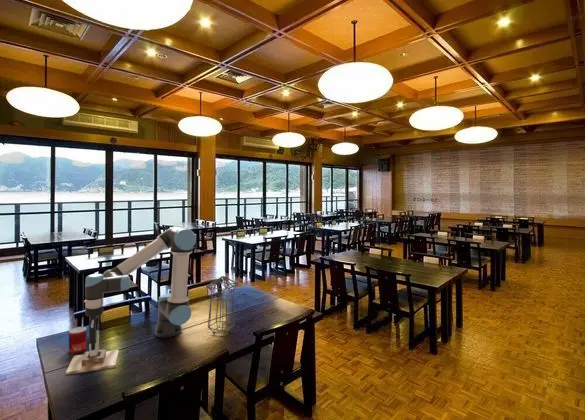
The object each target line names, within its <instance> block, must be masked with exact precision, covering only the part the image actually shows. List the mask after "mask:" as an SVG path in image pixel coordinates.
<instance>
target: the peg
mask: <svg viewBox="0 0 585 420" xmlns="http://www.w3.org/2000/svg"><path fill="white" fill-rule="evenodd" d="M99 335H100V330H99V331H98V330H97V334H96V342H97V356H90V344H88V345H89V347H88V348H89V358H91V357H98V356H99V350H100V337H99Z"/></svg>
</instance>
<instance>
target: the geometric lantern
mask: <svg viewBox="0 0 585 420" xmlns="http://www.w3.org/2000/svg"><path fill="white" fill-rule="evenodd" d="M217 285H218V286H217ZM220 285H222V286H223V287H224V288H220ZM238 286H239V282H236V281H234V280H233V279H230V278H229V277H227V276H225V275H221V276H220V277H218V278H217V279H215V280H212V282H209V284H207V285H205V287H206V288H207V289H209V290H210V302H209V309H208V310H209V311H208V318H207V319H208V321H207V328H208V329H210V331H211V332H212V334H214V335H215V333H219V334H222V336H223V335H224V336H225V335H227V334H226V333H227V332H229V330H230V331H231V329H232V328H233V327H234V326H235V325H236V323H235V321H236V320H235V318H236V317H235V304H234V303H235V302H234V298H235V289H236V288H237V287H238ZM227 290H228V292H229V293H228V294H227V295H226V294H224V292H225V291H227ZM214 294H216V295H215V296H214ZM222 296H225V297H226V298H225V299H223V297H222ZM229 296H230V297H231V298H229V299H228V297H229ZM216 297H217V299H215V301H217V302H216V303H217V305H216V312H215V313H216V316H215V322H213V323H212V324H211V317H212V301H214V298H216ZM227 299H228V300H227ZM231 300H232V302H231V303H232V305H231V306H232V307H231V309H232V310H231V311H232V314H231V317H232V322H230V321H229V322H228V305H227V304H228V303H227V302H228V301H231ZM221 301H222V302H221ZM219 302H220V303H219ZM224 302H225V305H224ZM219 304H220V307H219ZM224 306H225V307H224ZM218 308H219V309H220V310H219V320H217V319H218ZM224 308H225V319H226V320H225V321H224V312H222V309H224ZM221 316H222V317H221ZM215 324H216V328H212V326H213V325H215ZM218 324H219V326H218ZM221 324H222V325H221ZM224 324H225V325H226V327H225V326H224ZM228 324H231V325H230V326H229V327H228ZM219 328H220V330H219ZM221 328H222V329H221ZM217 330H218V331H217ZM226 330H227V331H226ZM216 331H217V332H216Z"/></svg>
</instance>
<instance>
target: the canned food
mask: <svg viewBox="0 0 585 420" xmlns="http://www.w3.org/2000/svg"><path fill="white" fill-rule="evenodd" d="M87 337H88V330H87V327H86V326H77V327H74V328H73V327H72V328H70V330H69V331H68V352H69V353H70V354H78V353H82V352H85V350H87V347H88V346H87V345H88V341H87V339H88V338H87Z"/></svg>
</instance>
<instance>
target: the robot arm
mask: <svg viewBox="0 0 585 420" xmlns="http://www.w3.org/2000/svg"><path fill="white" fill-rule="evenodd" d="M196 244H197V237H196V233H195V232H194V231H193V230H191V229H190V228H188V227H182V226H178V225H174V226H171V227H170V228H168V229H166V230H164V231H163V232H162V233H160V234H159V235H158V236H156V239H154V240H153V241H152V242H150V243H149V244H148V245H146V246H145V247H143V248H141V249H140V250H138V251H137V252H136V253H134V254H132V255H131V256H130V257H128V258H127V259H125V260H124V261H123V262H120V263H119V264H117V265H116V266H115V267H113V268H111V269H107V270H105V271H104V272H103V273H92V274H89V275H87V276H86V277H85V283H84V290H85V291H84V296H85V297H84V298H85V300H83V303H85V304H84V305H85V308H84V314H85V315H84V316H85V317H87V318H88V317H89V319H88V324H89V325H88V329H89V331H88V333H89V336H88V337H89V338H88V339H89V341H87V345H89V344H90V356H97V342H96V334H97V330H98V331H99V332H100V318H101V317H100V316H102V315H103V314H104V294H108V293H114V292H123V291H127V290H129V289H130V288H131V278H130V276H129V275H130V274H132V273H133V272H135V271H136V270H137V269H139V268H140V267H142V266H144V265H145V264H146V263H147V262H149V261H150V260H152V259H153V258H154V257H156V256H158V255H159V254H160V253H162V252H163V251H165V250H166V251H167V250H169V249H170V253H171V254H172V268H171V283H170V284H171V285H170V293H167V294H163V295H160V296H159V297H158V301H157V303H158V306H157V307H158V308H157V309H158V310H157V313H158V314H157V316H158V318H157V319H158V321H157V323H156V327H155V328H154V335H155V336H156V337H158V338H162V339H163V338H164V339H167V337H169V338H173V337H172V336H174V337H176V336H175V335H177V336H178V334H179V333H180V334H181V333H182V332H181V331H183V329H182V328H183V326H182V325H184V324H186V323H187V322H188V321H189V320H190V318H191V316H192V309H191V307H190V306H189V305H190V298H189V297H188V296H187V295H188V281H189V280H188V278H189V276H188V275H189V265H190V264H189V263H190V262H189V260H190V254H191V253H192V252H193V248H194V247H195V245H196ZM180 334H179V335H180ZM100 337H101V334H99V338H100Z"/></svg>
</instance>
